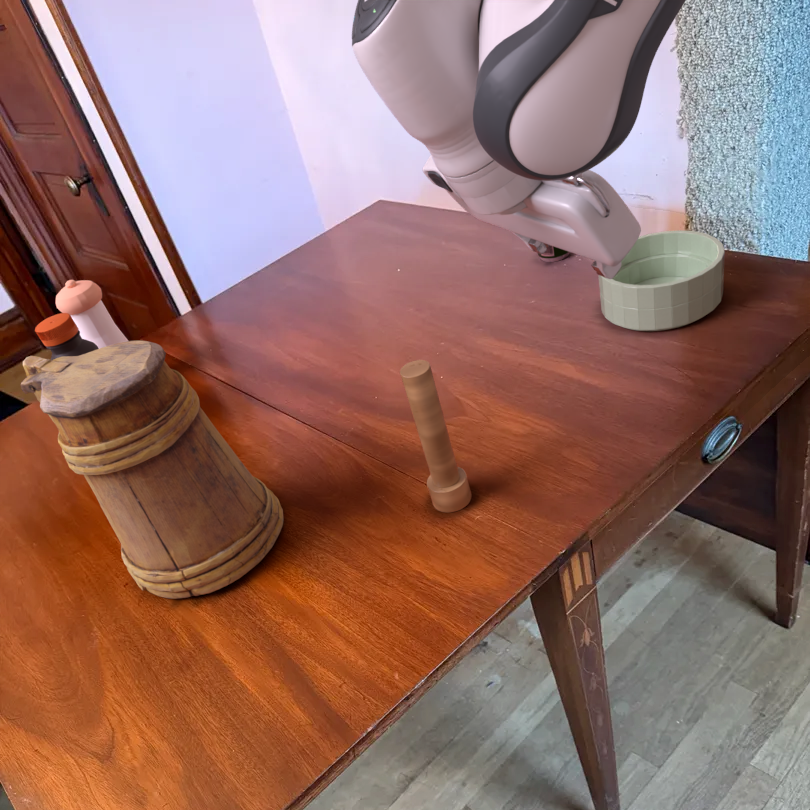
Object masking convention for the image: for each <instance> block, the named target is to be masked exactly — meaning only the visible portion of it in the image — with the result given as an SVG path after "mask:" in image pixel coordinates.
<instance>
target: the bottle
mask: <svg viewBox="0 0 810 810" xmlns="http://www.w3.org/2000/svg"><path fill="white" fill-rule="evenodd" d="M34 332H35V334H36V335H37V336H38V339H40V341H41V342H42V344H43V346H45V348H46V349H47V350H50V352H51V357H50V360H54V359H56V358H59V357H65V356H80V355H83V354H86V353H89V352H91V351H94V350H97V349H99V348H98V346H97V345H96V344H95V343H93V342H91V341H88V340H85V339H82V338H81V336H80V331H79V330H78V327H77V325H76V324H75V322H74V321H73V319H72V317H71V316H70V314H69V313H62V312H60V313H57V314H53V315H52V316H51V315H50V316H49V317H47V318H45V319H44V320H42V321H41V322H39V323H38V324H37V325H36V326H35V328H34Z"/></svg>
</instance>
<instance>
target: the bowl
mask: <svg viewBox="0 0 810 810" xmlns="http://www.w3.org/2000/svg"><path fill="white" fill-rule="evenodd" d="M724 273H725V247H724V244H723V243H722V241H720V240H719V239H718V238H716V237H715V236H712V235H710V234H708V233H707V232H706V233H705V232H701V231H696V230H682V229H680V230H679V229H677V230H665V231H659V232H653V233H652V232H651V233H647V234H643V235H641V236H640V235H639V238H638V239H637V241H636V243H635V244H634V246H633V247H632V249H631V250H630V251H629V253H628V254H627V255H626V256H625V257H624V259H623V260H622V261H621V268H620V270H619V271H618V272H617V274H616V275H615V276H614V278H612V279H608V278H605V277H603V276H600V275H598V274H597V275H598V286H599V297H600V309H601V313H602V315H603V316H604V318H605V319H606V320H607V321H609V322H610V323H612V324H613V325H616V326H618V327H621V328H623V329H627V330H632V331H637V332H638V331H639V332H659V331H668V330H673V329H676V328H682V327H684V326H688V325H689V324H692V323H694V322H696V321H699V320H700V319H702V318H704V317H706V315H708V314H710V313H711V312H713V311H714V310H715V309H716V308H717V307H718V306H719V305H720V303H721V302H722V299H723V295H724V283H725V282H724V277H725V274H724Z"/></svg>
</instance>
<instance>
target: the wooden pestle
mask: <svg viewBox="0 0 810 810" xmlns="http://www.w3.org/2000/svg"><path fill="white" fill-rule="evenodd" d="M431 366H432V365H431V363H430V362H429V361H427V360H425V359H417V360H412V361H410V362H406V363H405V364H404V365H402V366H401V368H400V369H399V374H400V378H401V381H402V385H403V388H404V392H405V394H406V398H407V401H408V404H409V407H410V412H411V414H412V418H413V421H414V424H415V425H414V426H415V428H416V431H417V434H418V438H419V441H420V444H421V447H422V451H423V454H424V457H425V460H426V464H427V468H428V471H429V474H430V475H429V476H428V478H427V479H426V487H427V489H428V493H429V497H430V500H431V502H432V506H433V508H434V509H435V510H436V511H438V512H442V513H446V514H447V513H455V512H458V511H461V510H463V509H464V508H465V507H466V506H468V505H469V503H471V500H472V497H473V496H472V495H473V494H472V491H471V486H470V483H469V480H468V476H467V472H466V471H465V470H464V469H463V468H461V467H460V466H458V463H457V460H456V456H455V453H454V449H453V445H452V441H451V437H450V433H449V430H448V427H447V423H446V419H445V415H444V412H443V408H442V403H441V401H440V397H439V393H438V390H437V385H436V382H435V377H434V374H433V371H432V367H431Z"/></svg>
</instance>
